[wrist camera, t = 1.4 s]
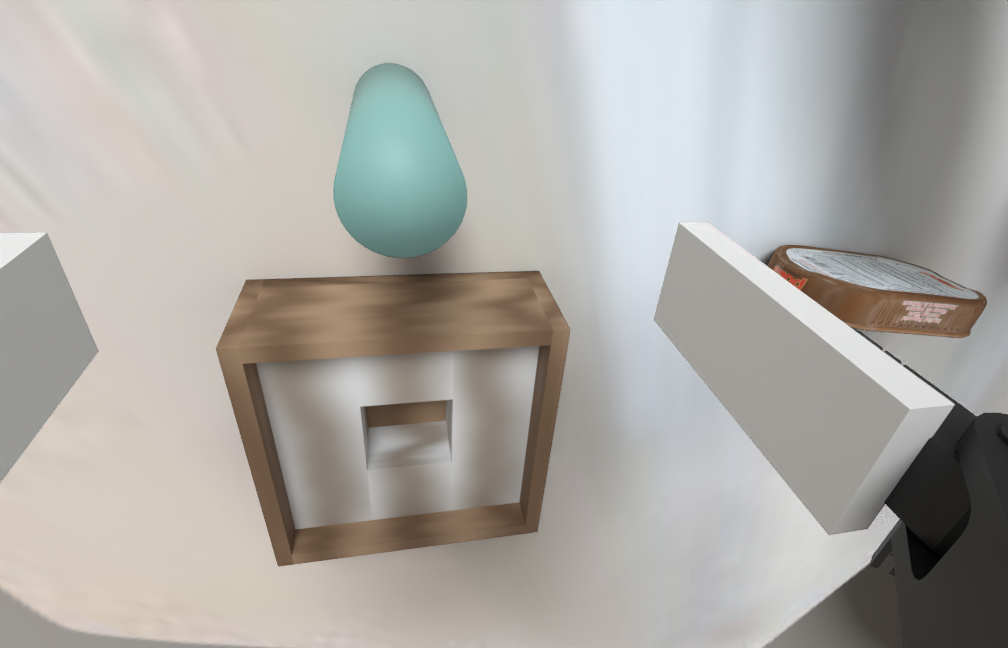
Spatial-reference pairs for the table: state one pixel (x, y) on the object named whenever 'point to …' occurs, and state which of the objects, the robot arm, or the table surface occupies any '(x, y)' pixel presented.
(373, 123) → the peg
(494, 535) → the bore box
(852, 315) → the tin
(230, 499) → the table surface
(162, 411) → the table surface
